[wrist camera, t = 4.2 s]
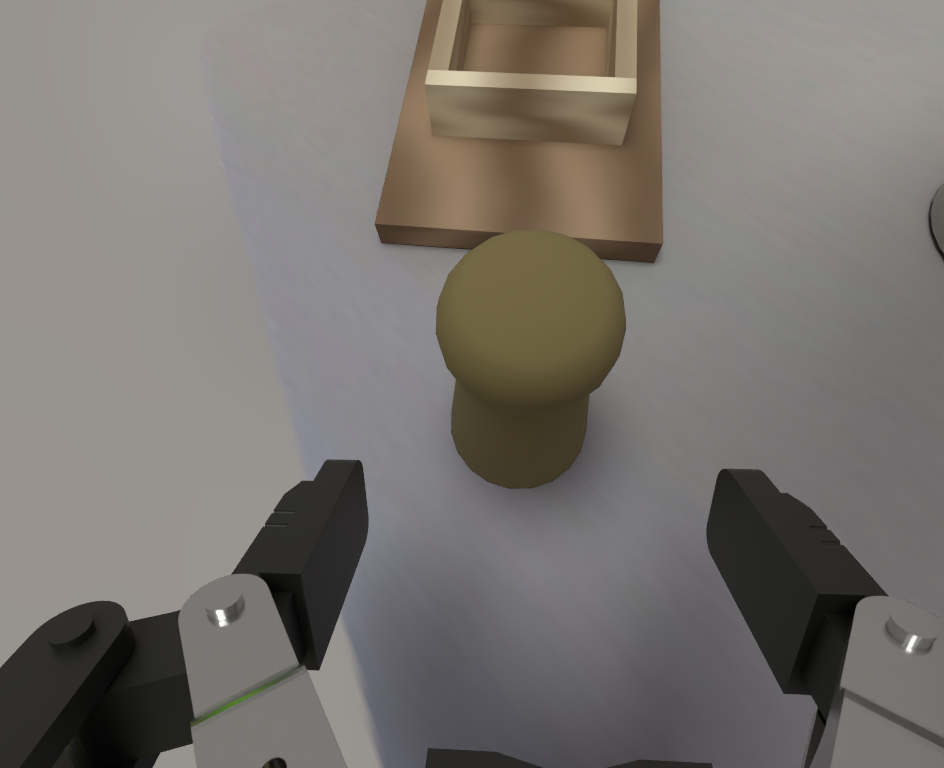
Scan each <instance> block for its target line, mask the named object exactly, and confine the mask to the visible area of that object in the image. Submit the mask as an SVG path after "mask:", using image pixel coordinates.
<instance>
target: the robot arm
mask: <svg viewBox="0 0 944 768" xmlns="http://www.w3.org/2000/svg"><path fill="white" fill-rule="evenodd" d="M931 222H932V230H933V232H934V235H935V238H936V240H937V243H938V246H939V247H940V249H941V250H942V252H943V253H944V184H943V185H942V186H941V187H940V188H939V190H938V192H937V194H936V195H935V197H934V199H933V203H932V209H931ZM367 533H368V508H367V499H366V490H365V482H364V473H363V466H362V463H361V461H360V460H326V461H325V462H324V464H323V466H322V467H321V469H320V471H319V472H318V474H317V476H316V477H315V479H314V481H301V482H300V483H299V484H298V485H296V486H295V487H294V488H292V489H291V490H289V491H288V492H287V493H285V494H284V496H283V497H282V499H281V500H280V502H279V503H278V505H277V506H276V508H275V509H274V513H272V514H271V515H270V517H269V518H268V520H267V521H266V523H265V527H263V528H262V529H261V531H260V532H259V533H258V535H257V537H256V538H255V539H254V541H253V543H252V544H251V546H250V547H249V549H248V550H247V552H246V553H245V555H244V556H243V558H242V559H241V561H240V562H239V564H238V565H237V567H236V568H235V570H234V571H233V573H232V574H231V575H229V576H225V577H222V578H219V579H216V580H214V581H212V582H210V583H208V584H206V585H204V586H203V587H201V588H200V589H199V590H197V591H196V592H195V593H194V594H193V595H191V596H190V598H189V599H188V600H187V601H186V602H185V604H184V605H183V607H182V609H181V610H179V611H175V612H172V613H167V614H162V615H158V616H154V617H148V618H144V619H139V620H135V621H130V622H129V620H128V618H127V615H126V613H125V610H124V608H123V607H122V606H121V605H119V604H117V603H115V602H111V601H95V602H90V603H86V604H82V605H79V606H76V607H74V608H71V609H69V610H67V611H64V612H62V613H60V614H59V615H57V616H55V617H53V618H52V619H50V620H49V621H47V622H46V623H44V624H43V625H42V626H40V627H39V628H38V629H37V630H36V631H35V632H34V633H33V634H32V635H31V636H29V638H28V639H27V640H26V641H25V642H24V643H23V644H22V645H21V646H20V647H19V648H18V649H17V651H16V652H15V653H14V654H13V655H12V656H11V657H10V658H9V659H8V660H7V661H6V662H5V664H4V665H3V666H2V667H1V668H0V768H152V767H153V765H154V764H155V762H156V759H157V758H158V756H159V754H160V752H164V751H167V750H171V749H174V748H178V747H182V746H185V745H189V744H192V743H193V745H194V752H195V757H196V764H197V768H347V766H346V763H345V761H344V758H343V756H342V753H341V751H340V749H339V746H338V744H337V741H336V739H335V736H334V734H333V732H332V729H331V727H330V724H329V722H328V719H327V717H326V715H325V712H324V710H323V707H322V705H321V703H320V700H319V698H318V695H317V693H316V690H315V688H314V686H313V683H312V681H311V678H310V676H309V673H308V671H307V670H319V669H320V667H321V664H322V661H323V658H324V655H325V653H326V650H327V647H328V644H329V642H330V639H331V636H332V634H333V631H334V628H335V625H336V623H337V620H338V617H339V614H340V612H341V609H342V606H343V603H344V601H345V598H346V595H347V592H348V590H349V587H350V584H351V581H352V579H353V576H354V573H355V570H356V568H357V565H358V562H359V559H360V557H361V554H362V551H363V548H364V546H365V543H366V539H367ZM706 535H707V544H708V548H709V551H710V554H711V556H712V558H713V560H714V562H715V564H716V566H717V568H718V570H719V571H720V573H721V575H722V577H723V579H724V581H725V583H726V585H727V587H728V589H729V590H730V592H731V594H732V596H733V598H734V600H735V602H736V604H737V606H738V608H739V609H740V611H741V613H742V615H743V617H744V619H745V621H746V623H747V625H748V627H749V629H750V630H751V632H752V634H753V636H754V638H755V640H756V642H757V644H758V646H759V648H760V649H761V651H762V653H763V655H764V657H765V659H766V661H767V663H768V665H769V667H770V668H771V670H772V672H773V674H774V676H775V678H776V680H777V682H778V684H779V686H780V687H781V689H782V691H783V693H784V694H802V695H811V696H812V698H813V699H814V701H815V703H816V704H817V709H816V711H815V714H814V716H813V719H812V723H811V727H810V731H809V735H808V739H807V743H806V748H805V752H804V756H803V760H802V764H801V768H944V621H943V620H942V619H941V618H939V617H938V616H936V615H934V614H933V613H931V612H929V611H927V610H926V609H924V608H922V607H919V606H917V605H915V604H913V603H910V602H907V601H904V600H901V599H897V598H893V597H889V596H888V595H887V594H886V593H885V592H884V590H883V589H882V588H881V587H880V586H879V585H878V584H877V583H876V581H875V580H874V579H873V578H872V577H871V576H870V575H869V574H868V572H867V571H866V570H865V569H864V568H863V567H862V566H861V565H860V563H859V562H858V561H857V560H856V559H855V558H854V557H853V555H852V554H851V553H850V552H849V551H848V550H847V549H846V548H845V546H844V545H840V541H839V540H838V539H837V537H836V536H835V535H834V534H833V533H832V532H831V531H830V530H827V526H826V525H825V524H824V523H823V522H822V520H821V519H820V518H819V517H818V516H817V515H816V514H815V513H814V511H813V510H812V509H811V508H809V507H808V506H806V505H805V504H803V503H802V502H800V501H799V500H797V499H796V498H794V497H792V496H791V495H789V494H788V493H780V492H779V490H778V489H777V488H776V487H775V486H774V484H773V483H772V482H771V481H770V480H769V478H768V477H767V476H766V475H765V474H764V473H763V472H762V471H761V470H753V469H722V470H721V471H720V472H719V474H718V477H717V481H716V485H715V490H714V495H713V499H712V504H711V509H710V513H709V518H708V523H707V530H706ZM426 768H542V767H539V766H536V765H533V764H530V763H527V762H524V761H521V760H518V759H515V758H512V757H509V756H506V755H503V754H500V753H497V752H487V751H468V750H450V749H431V748H428V752H427V760H426ZM609 768H713V767H712V764H710V763H691V762H673V761H654V760H637V761H633V762H629V763H625V764H621V765H617V766H613V767H609Z"/></svg>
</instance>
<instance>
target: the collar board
mask: <svg viewBox="0 0 944 768" xmlns="http://www.w3.org/2000/svg"><path fill="white" fill-rule="evenodd" d="M375 226H376V229H377V232H378V235H379V238H380V241H381V243H394V244H408V245H422V246H436V247H449V248H463V249H474V248H476V247H477V246H479V245H480V244H482V243H483V242H485V241H486V240H488V239H490V238H491V237H494V236H497V235H501V234H504V233H507V232H510V231H514V230H529V229H543V230H547V231H551V232H556V233H560V234H565V235H567V236H569V237H571V238H573V239H575V240H576V241H578V242H580V243H582V244H584V245H586V246H588V247H589V248H590V249H591V250H592V251H593V252H594V253H595V254H596V255H597V256H598V257H599V258H601V259H614V260H628V261H642V262H654V261H655V259H656V257H657V255H658V253H659V251H660V249H661V246H662V244H663V222H662V152H661V81H660V11H659V0H427V3H426V7H425V12H424V16H423V20H422V25H421V29H420V33H419V37H418V42H417V46H416V50H415V54H414V59H413V63H412V67H411V71H410V76H409V80H408V84H407V88H406V93H405V97H404V101H403V105H402V110H401V114H400V118H399V122H398V127H397V131H396V135H395V139H394V144H393V148H392V152H391V156H390V161H389V165H388V169H387V173H386V178H385V182H384V186H383V190H382V195H381V199H380V203H379V207H378V212H377V216H376V220H375Z"/></svg>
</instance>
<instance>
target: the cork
mask: <svg viewBox="0 0 944 768" xmlns="http://www.w3.org/2000/svg"><path fill="white" fill-rule="evenodd" d="M625 331H626V317H625V309H624V301H623V293H622V291H621V289H620V287H619V285H618V283H617V281H616V279H615V277H614V275H613V273H612V272H611V270H610V268H609V267H608V266H607V265H606V264H605V263H604V262H603V261H602V260H601V259H600V258H599V257H598V256H597V255H596V254H595V253H594V252H593V251H592V250H591V249H590V248H589V247H588V246H586V245H584V244H582V243H580V242H578V241H576V240H575V239H573V238H571V237H569V236H567V235H565V234H560V233H556V232H551V231H547V230H543V229H529V230H514V231H510V232H507V233H504V234H501V235H497V236H494V237H491V238H490V239H488V240H486V241H485V242H483V243H482V244H480V245H479V246H477V247H476V248H474V249H472V250H471V251H470V252H468V253H467V254H466V255H465V256H464V257H463V258H462V259H461V260H460V261H459V263H458V264H457V265H456V266H455V267H454V269H453V270H452V271H451V272H450V273H449V274H448V277H447V279H446V282H445V285H444V287H443V290H442V292H441V295H440V297H439V301H438V305H437V317H436V335H437V339H438V342H439V345H440V348H441V351H442V354H443V357H444V360H445V363H446V366H447V368H448V370H449V371H450V372H451V373H452V375H453V376H454V377H455V378H456V383H455V391H454V398H453V406H452V419H451V433H452V436H453V439H454V442H455V445H456V449H457V452H458V453H459V455H460V456H461V457H462V459H463V460H464V461H465V463H466V464H467V465H468V467H469V468H470V469H471V470H472V471H474V472H475V473H476V474H478V475H479V476H481V477H482V478H483V479H485V480H486V481H488V482H490V483H494V484H497V485H500V486H503V487H506V488H533V487H536V486H539V485H542V484H545V483H548V482H551V481H553V480H554V479H556V478H557V477H558V476H559V475H561V474H562V473H563V472H565V471H566V470H567V469H569V468H570V466H571V465H572V463H573V462H574V460H575V459H576V457H577V455H578V454H579V452H580V451H581V448H582V444H583V440H584V436H585V432H586V424H587V413H588V402H589V394H590V393H592V392H593V391H594V390H596V389H597V388H598V387H600V385H601V384H602V382H603V381H604V379H605V378H606V376H607V375H608V373H609V372H610V370H611V369H612V367H613V366H614V364H615V363H616V361H617V359H618V357H619V356H620V352H621V348H622V344H623V339H624V335H625Z"/></svg>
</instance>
